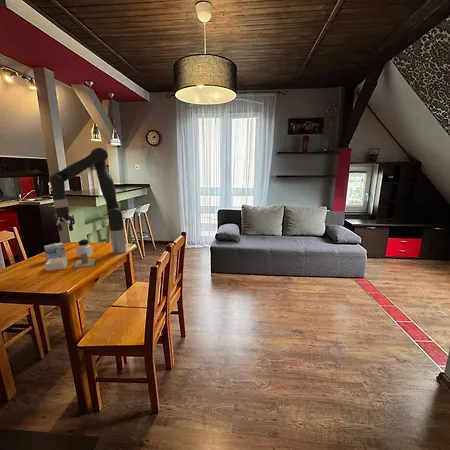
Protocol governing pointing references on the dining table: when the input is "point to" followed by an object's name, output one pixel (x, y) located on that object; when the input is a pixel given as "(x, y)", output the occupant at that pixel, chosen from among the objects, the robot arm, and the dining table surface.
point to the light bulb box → (55, 251)
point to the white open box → (56, 264)
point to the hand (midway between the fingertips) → (65, 230)
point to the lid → (84, 261)
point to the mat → (86, 266)
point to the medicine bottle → (84, 248)
